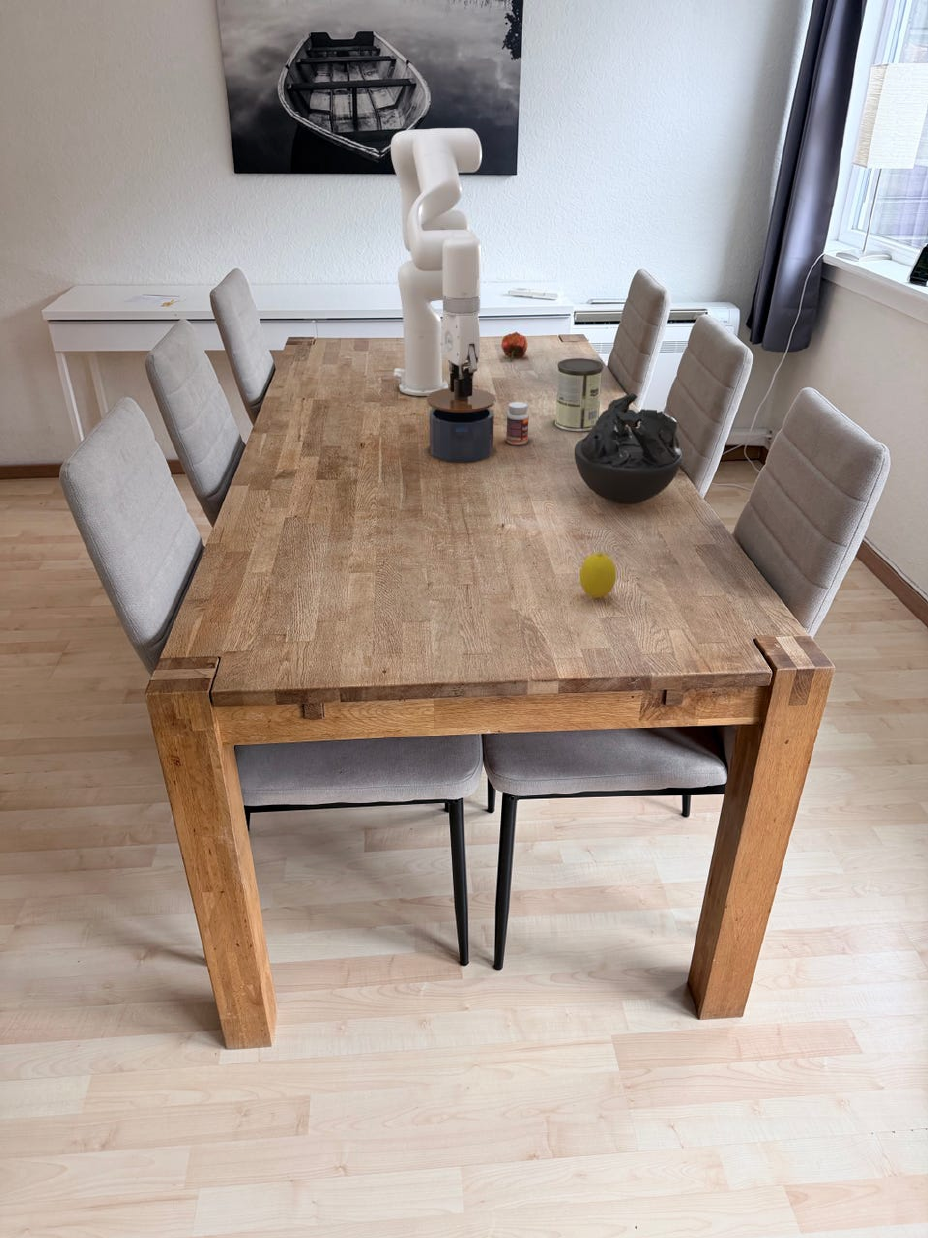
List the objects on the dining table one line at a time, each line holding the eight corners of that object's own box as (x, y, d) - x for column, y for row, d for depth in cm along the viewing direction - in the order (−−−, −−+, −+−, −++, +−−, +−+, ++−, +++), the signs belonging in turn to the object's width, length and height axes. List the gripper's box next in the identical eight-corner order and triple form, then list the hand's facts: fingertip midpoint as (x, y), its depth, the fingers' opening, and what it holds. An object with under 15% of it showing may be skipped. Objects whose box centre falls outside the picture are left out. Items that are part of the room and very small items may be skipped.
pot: (429, 467, 189) (428, 428, 184) (431, 435, 205) (430, 398, 200) (494, 467, 189) (495, 427, 184) (491, 435, 205) (491, 398, 200)
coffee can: (562, 414, 217) (566, 355, 210) (604, 420, 213) (609, 360, 206) (547, 427, 209) (551, 367, 202) (590, 434, 205) (595, 372, 198)
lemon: (575, 590, 145) (578, 545, 140) (609, 588, 145) (613, 544, 141) (581, 607, 140) (585, 562, 136) (617, 606, 140) (621, 560, 136)
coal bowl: (652, 530, 163) (664, 430, 153) (553, 505, 172) (559, 409, 162) (690, 492, 178) (704, 399, 168) (597, 471, 187) (605, 381, 177)
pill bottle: (526, 445, 199) (527, 408, 195) (504, 444, 200) (505, 407, 196) (529, 438, 203) (530, 402, 199) (508, 436, 204) (509, 400, 200)
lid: (425, 415, 185) (425, 389, 183) (427, 392, 198) (427, 367, 195) (496, 415, 186) (497, 389, 183) (494, 392, 198) (494, 368, 195)
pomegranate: (525, 368, 257) (534, 340, 261) (518, 352, 251) (527, 323, 254) (501, 368, 260) (510, 340, 264) (494, 352, 254) (503, 323, 257)
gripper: (428, 296, 186) (429, 384, 196) (461, 315, 173) (460, 408, 183) (461, 293, 188) (461, 380, 198) (496, 311, 176) (494, 403, 186)
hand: (461, 392), depth 190 cm, fingers closed on lid, 3 cm apart
